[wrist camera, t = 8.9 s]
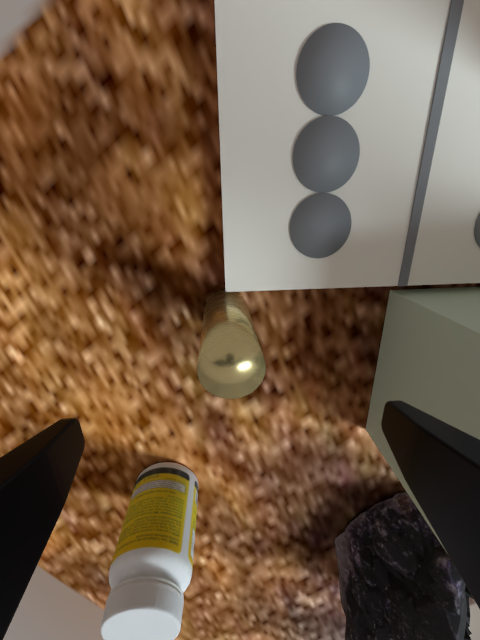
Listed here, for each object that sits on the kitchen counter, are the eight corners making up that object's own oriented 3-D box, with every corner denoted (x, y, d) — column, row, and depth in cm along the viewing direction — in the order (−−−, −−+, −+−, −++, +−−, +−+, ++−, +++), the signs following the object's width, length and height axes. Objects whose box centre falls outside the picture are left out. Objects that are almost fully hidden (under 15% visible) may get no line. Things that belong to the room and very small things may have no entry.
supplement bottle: (123, 476, 22) (70, 626, 14) (176, 450, 21) (151, 592, 13) (160, 512, 23) (130, 665, 16) (210, 489, 23) (205, 635, 15)
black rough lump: (477, 471, 25) (616, 615, 16) (457, 578, 29) (560, 746, 20) (323, 479, 26) (368, 622, 16) (324, 583, 30) (361, 748, 20)
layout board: (650, -4, 13) (1236, -293, 6) (545, 275, 18) (785, 325, 10) (213, -14, 12) (203, -387, 5) (225, 286, 17) (229, 351, 9)
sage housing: (483, 286, 18) (689, 348, 10) (442, 424, 22) (567, 546, 14) (389, 290, 18) (527, 356, 10) (365, 429, 22) (449, 557, 14)
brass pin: (246, 288, 17) (265, 336, 11) (247, 328, 18) (265, 396, 11) (202, 290, 17) (193, 341, 10) (206, 331, 18) (200, 401, 11)
